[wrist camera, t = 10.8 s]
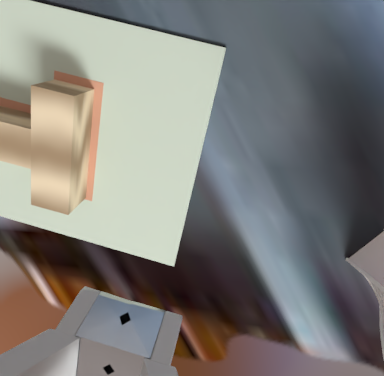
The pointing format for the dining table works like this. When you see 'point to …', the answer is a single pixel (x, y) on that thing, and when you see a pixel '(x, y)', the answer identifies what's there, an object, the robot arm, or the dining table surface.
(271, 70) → the dining table surface
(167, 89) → the mat
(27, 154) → the T block
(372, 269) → the skyscraper
